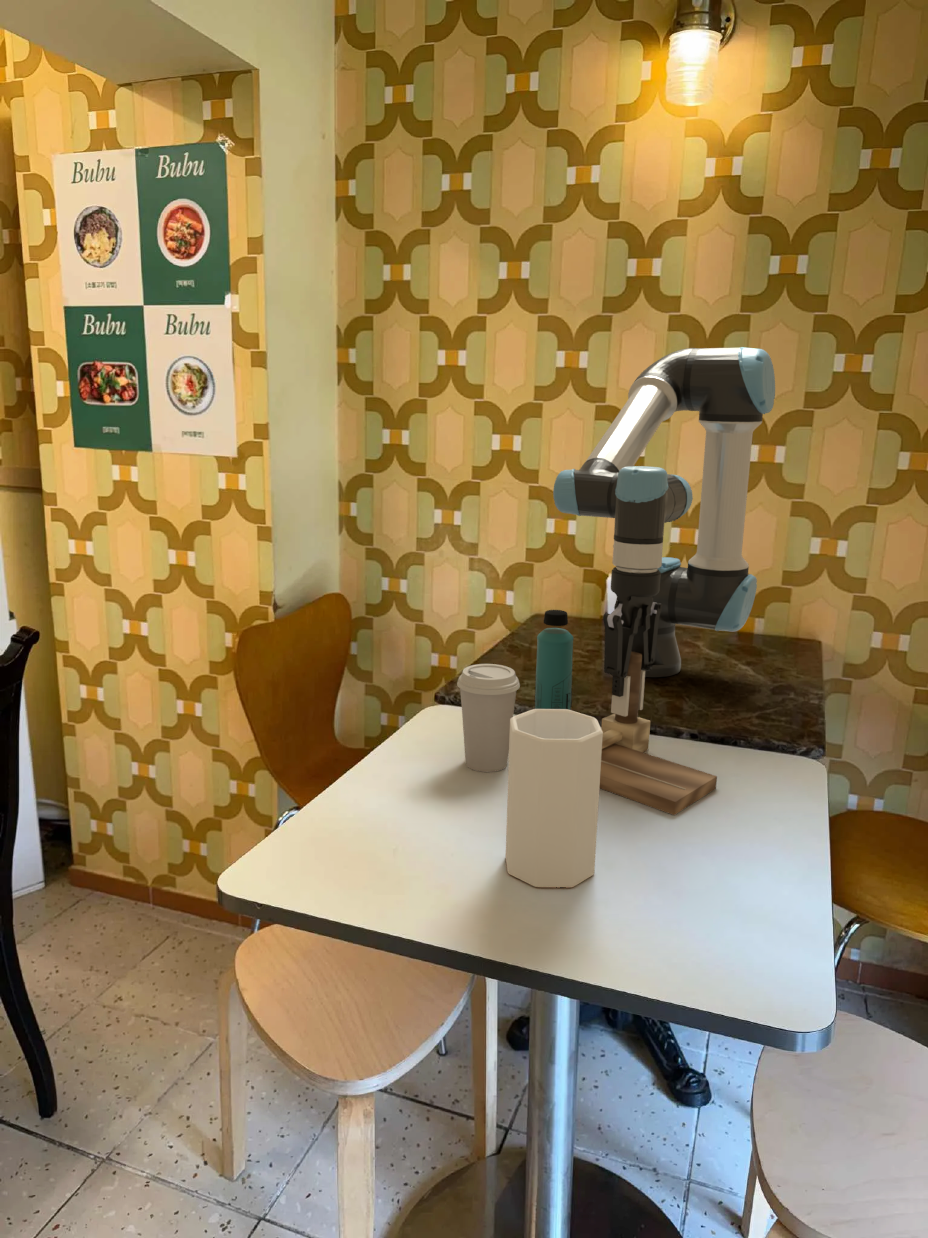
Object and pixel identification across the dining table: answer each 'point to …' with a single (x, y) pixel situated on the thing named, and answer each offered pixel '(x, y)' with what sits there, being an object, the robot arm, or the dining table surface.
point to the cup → (553, 797)
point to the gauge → (631, 727)
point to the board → (652, 779)
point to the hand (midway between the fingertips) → (626, 710)
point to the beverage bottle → (554, 664)
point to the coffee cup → (487, 714)
